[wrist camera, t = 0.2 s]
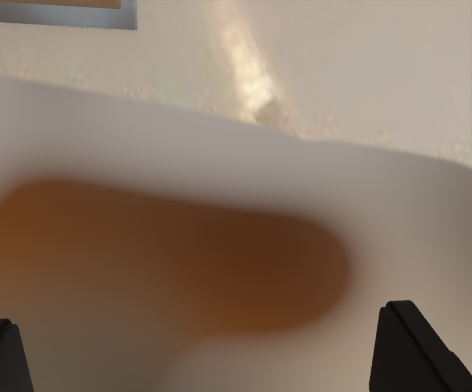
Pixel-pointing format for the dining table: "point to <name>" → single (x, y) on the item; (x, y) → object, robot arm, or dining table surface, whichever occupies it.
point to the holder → (71, 13)
